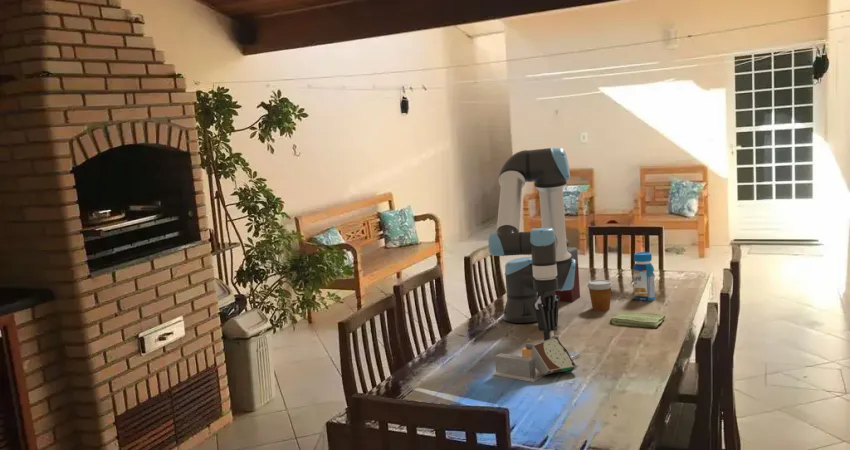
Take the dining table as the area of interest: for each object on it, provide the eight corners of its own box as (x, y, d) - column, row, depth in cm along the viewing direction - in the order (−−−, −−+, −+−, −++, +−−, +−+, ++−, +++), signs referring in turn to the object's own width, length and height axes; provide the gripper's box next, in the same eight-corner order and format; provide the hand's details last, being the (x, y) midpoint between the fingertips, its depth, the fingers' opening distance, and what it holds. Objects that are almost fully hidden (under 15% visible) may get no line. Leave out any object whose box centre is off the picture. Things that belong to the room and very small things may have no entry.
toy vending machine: (582, 300, 296) (578, 235, 293) (573, 306, 286) (569, 239, 283) (562, 299, 301) (558, 235, 298) (552, 305, 291) (548, 239, 288)
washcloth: (658, 329, 244) (658, 320, 244) (608, 326, 253) (608, 318, 253) (666, 320, 256) (665, 311, 255) (618, 318, 264) (617, 309, 264)
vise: (493, 374, 209) (492, 355, 208) (542, 350, 230) (541, 332, 229) (533, 382, 199) (532, 361, 199) (580, 355, 220) (579, 337, 220)
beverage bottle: (658, 302, 281) (656, 253, 279) (637, 304, 282) (635, 255, 280) (652, 298, 290) (650, 250, 288) (631, 299, 290) (629, 252, 288)
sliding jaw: (522, 358, 219) (521, 344, 218) (532, 353, 223) (531, 339, 223) (555, 363, 211) (554, 348, 210) (565, 358, 215) (564, 343, 215)
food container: (545, 387, 202) (573, 379, 206) (551, 375, 198) (580, 366, 202) (524, 354, 210) (552, 346, 214) (530, 341, 206) (558, 334, 210)
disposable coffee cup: (600, 316, 267) (598, 285, 266) (583, 312, 276) (582, 282, 275) (619, 311, 272) (617, 281, 270) (602, 308, 280) (600, 278, 279)
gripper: (545, 273, 224) (550, 344, 227) (523, 280, 215) (528, 355, 217) (566, 274, 219) (570, 347, 222) (544, 282, 210) (549, 358, 212)
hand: (549, 351), depth 219 cm, fingers closed
